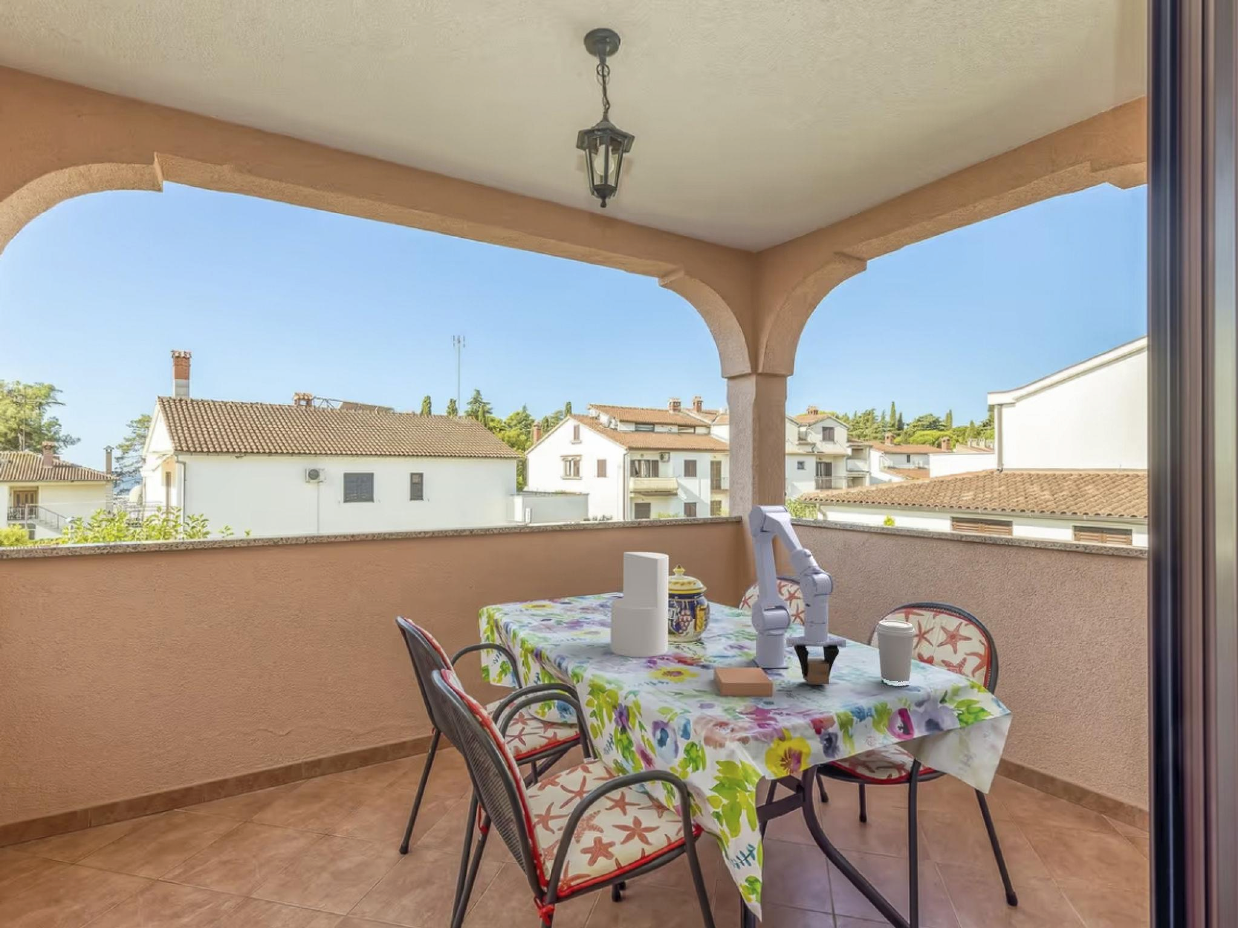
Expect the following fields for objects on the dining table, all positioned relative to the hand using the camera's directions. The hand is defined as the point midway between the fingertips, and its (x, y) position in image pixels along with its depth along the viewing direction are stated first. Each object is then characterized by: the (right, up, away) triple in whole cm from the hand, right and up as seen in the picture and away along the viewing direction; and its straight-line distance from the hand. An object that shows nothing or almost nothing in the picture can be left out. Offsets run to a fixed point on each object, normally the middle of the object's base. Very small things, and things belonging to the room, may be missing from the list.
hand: (815, 675), depth 161 cm
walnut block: (0, -1, 0) cm, 1 cm away
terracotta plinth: (-19, -2, -2) cm, 19 cm away
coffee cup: (+21, -3, +2) cm, 21 cm away
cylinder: (-43, -3, +31) cm, 54 cm away
